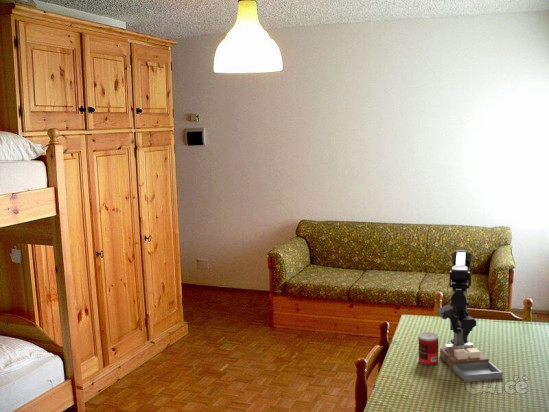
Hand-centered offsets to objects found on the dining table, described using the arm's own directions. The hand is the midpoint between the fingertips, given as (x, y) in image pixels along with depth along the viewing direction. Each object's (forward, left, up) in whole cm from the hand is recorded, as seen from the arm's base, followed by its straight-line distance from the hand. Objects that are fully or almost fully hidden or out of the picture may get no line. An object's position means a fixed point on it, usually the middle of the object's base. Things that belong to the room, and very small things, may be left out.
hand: (459, 335), depth 238 cm
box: (+17, 0, -9) cm, 19 cm away
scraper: (0, 0, -6) cm, 6 cm away
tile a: (+8, -3, -6) cm, 10 cm away
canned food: (+2, -14, -9) cm, 17 cm away
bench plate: (+5, 0, -9) cm, 10 cm away
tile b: (+8, +2, -6) cm, 10 cm away
